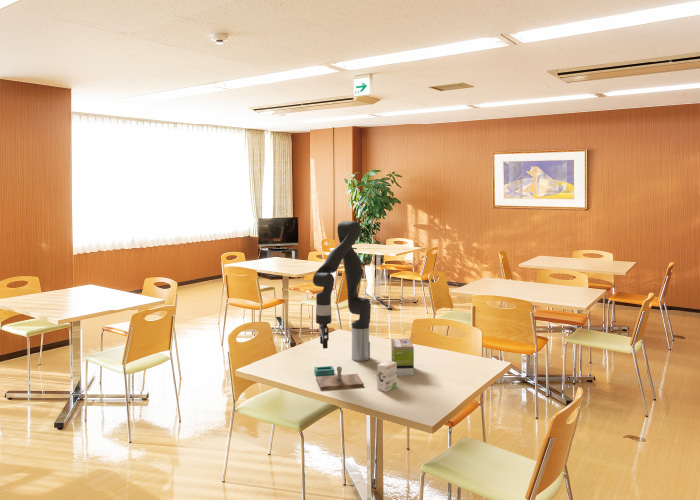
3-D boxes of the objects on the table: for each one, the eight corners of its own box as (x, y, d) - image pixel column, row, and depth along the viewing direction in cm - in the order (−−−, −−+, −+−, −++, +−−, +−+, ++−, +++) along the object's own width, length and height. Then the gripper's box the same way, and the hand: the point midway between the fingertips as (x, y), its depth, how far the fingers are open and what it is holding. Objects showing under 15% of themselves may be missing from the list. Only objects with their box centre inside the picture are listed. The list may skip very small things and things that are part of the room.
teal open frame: (332, 371, 271) (332, 365, 271) (334, 375, 266) (334, 369, 265) (314, 373, 270) (314, 367, 269) (316, 377, 264) (315, 370, 263)
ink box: (388, 384, 253) (388, 359, 252) (397, 387, 250) (397, 362, 248) (376, 389, 247) (376, 364, 246) (385, 392, 243) (385, 366, 242)
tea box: (390, 366, 280) (391, 338, 278) (410, 366, 280) (410, 337, 278) (393, 376, 265) (393, 346, 263) (414, 375, 265) (414, 346, 263)
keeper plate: (357, 376, 264) (357, 360, 263) (363, 386, 250) (363, 369, 249) (316, 379, 260) (315, 363, 259) (320, 390, 246) (320, 372, 245)
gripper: (333, 316, 258) (333, 349, 260) (328, 310, 272) (329, 341, 274) (318, 316, 257) (318, 350, 258) (314, 310, 271) (314, 342, 272)
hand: (323, 345), depth 266 cm, fingers open, 8 cm apart
